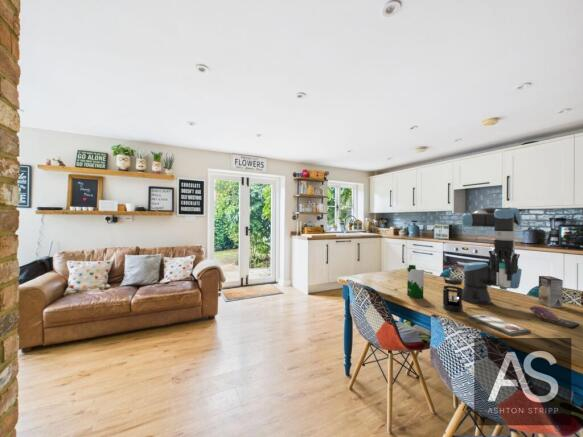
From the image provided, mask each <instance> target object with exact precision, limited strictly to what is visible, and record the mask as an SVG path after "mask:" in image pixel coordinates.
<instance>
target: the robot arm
mask: <svg viewBox="0 0 583 437" xmlns="http://www.w3.org/2000/svg"><path fill="white" fill-rule="evenodd" d="M521 219H522V218H521V214H520V210H519V208H518V207H510V206H509V207H486V208H480V209H477V210H474V211H473V212H472V213H469V212H468V213H463V215H462V222H461V223H462V226H463V227H469V228H472V227H476V228H477V227H478V228H479V227H480V228H481V227H482V228H493V229H494V231H493V232H494V233H493V239H494V240H493V246H494V249H493V250H489V251H488V254H489V259H490V265H489V264H488V263H487V262H477V261H476V262H473V261H472V262H467V263H464V270H463V275H464V276H463V277H464V278H463V279H464V280H463V283H464V284H463V285H464V286H463V288H462V289H463V292H462V301H465V302H469V303H472V304H478V305H489V304H491V303H492V298H491V295H490V292H489V290H488V289H489V288H488V286H492V287H499V288H500V286H499V263H505V268H506V273H505V281H504V287H507V289H518V288H519V287H520V283H521V276H522V268H519V265H518V264H519V258H520V256H521V255H520V254H519V253H516V252H515V250H516V249H515V248H516V247H515V243H516V242H515V240H516V239H515V234H516V230H517V229H518V228H519V226H521V225H522V224H521V223H522V220H521Z"/></svg>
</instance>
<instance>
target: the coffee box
mask: <svg viewBox="0 0 583 437" xmlns="http://www.w3.org/2000/svg"><path fill="white" fill-rule="evenodd" d="M563 282H564V281H563V279H561V278H558V277H555V276H550V275H548V276H547V275H538V302H539V303H540V304H542V305H545V306H548V307H550V308H561V307H562V308H563V285H564V284H563Z"/></svg>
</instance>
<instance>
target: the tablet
mask: <svg viewBox="0 0 583 437" xmlns="http://www.w3.org/2000/svg"><path fill="white" fill-rule="evenodd" d="M466 318H468V319H470V320H472V321H475V322H477V323H479V324H481V325H484V326H486V327H489V328H491V329H493V330H496V331H498V332H501V333H502V334H505V335H508V336H516V335H517V336H518V335H524V334H525V335H526V334H531V333H532V330H530V329H528V328H525V327H522V326H520V325H517V324H515V323H511V322H508V321H507V320H504V319H501V318H499V317H495V316H493V315H491V314H487V313H481V314H479V313H478V314H471V315H467V316H466Z"/></svg>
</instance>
